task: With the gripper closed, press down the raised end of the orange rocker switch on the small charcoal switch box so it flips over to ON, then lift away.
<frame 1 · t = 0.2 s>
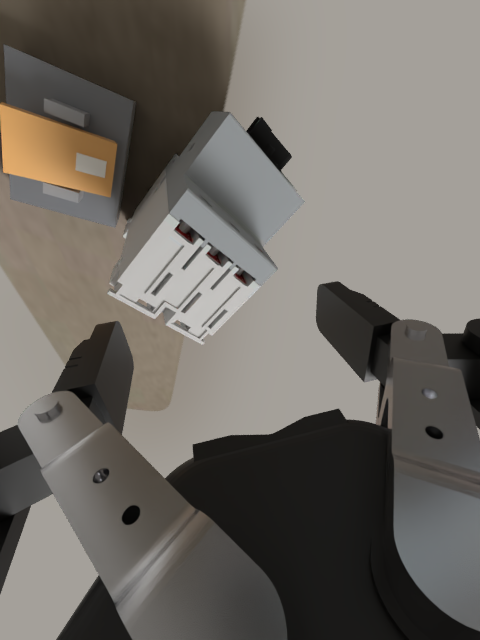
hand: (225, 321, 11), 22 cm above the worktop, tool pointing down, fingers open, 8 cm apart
circuit breaker: (199, 190, 29), on the worktop
switch box: (78, 148, 25), on the worktop
rocker: (62, 155, 21), point 5 cm above the worktop, hinge at -16.0°
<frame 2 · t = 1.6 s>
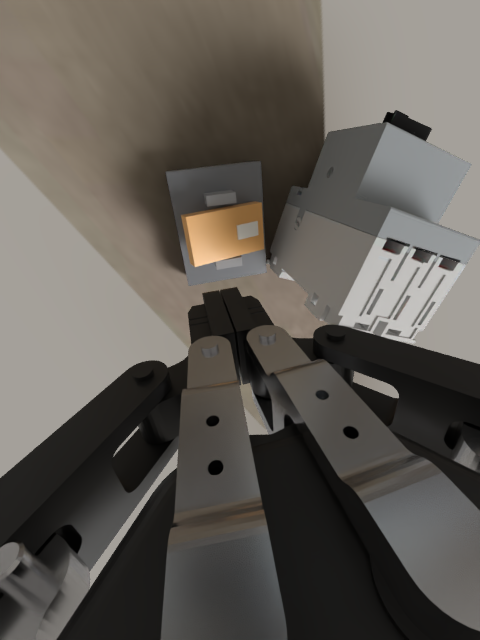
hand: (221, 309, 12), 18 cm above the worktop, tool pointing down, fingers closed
circuit breaker: (318, 206, 30), on the worktop
switch box: (217, 222, 28), on the worktop
rocker: (224, 232, 24), point 5 cm above the worktop, hinge at -16.0°
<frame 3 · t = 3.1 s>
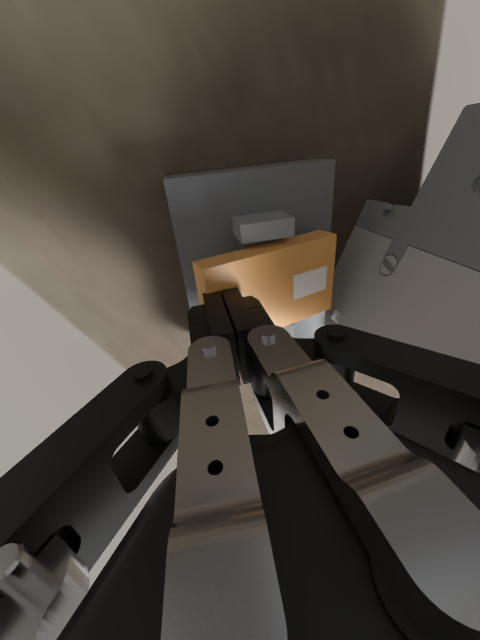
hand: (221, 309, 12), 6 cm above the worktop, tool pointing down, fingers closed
circuit breaker: (401, 230, 19), on the worktop
switch box: (246, 257, 18), on the worktop
rocker: (268, 287, 14), point 5 cm above the worktop, hinge at -15.9°, touching gripper
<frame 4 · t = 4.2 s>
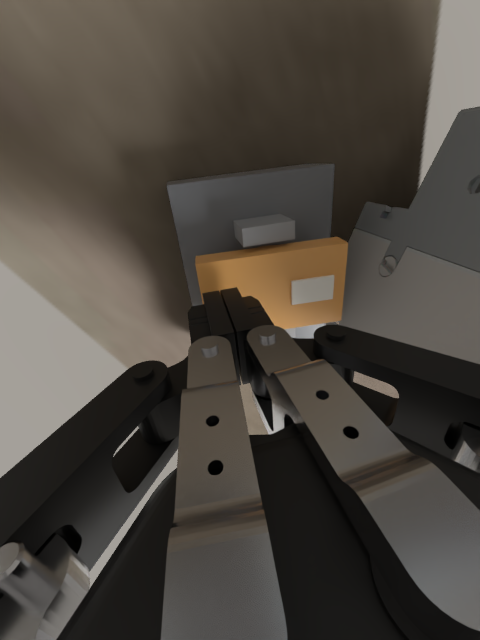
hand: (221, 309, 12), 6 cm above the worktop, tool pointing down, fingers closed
circuit breaker: (400, 231, 20), on the worktop
switch box: (248, 259, 18), on the worktop
rocker: (271, 288, 14), point 5 cm above the worktop, hinge at 4.9°
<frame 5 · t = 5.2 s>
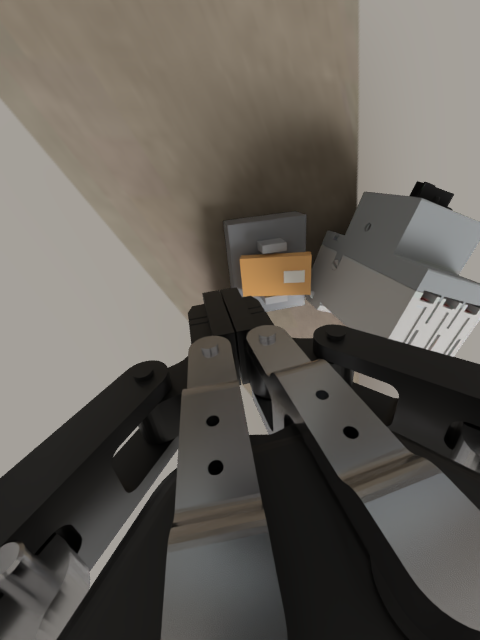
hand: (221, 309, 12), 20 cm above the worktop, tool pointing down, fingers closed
circuit breaker: (349, 246, 34), on the worktop
switch box: (262, 261, 33), on the worktop
rocker: (275, 274, 29), point 5 cm above the worktop, hinge at 19.6°
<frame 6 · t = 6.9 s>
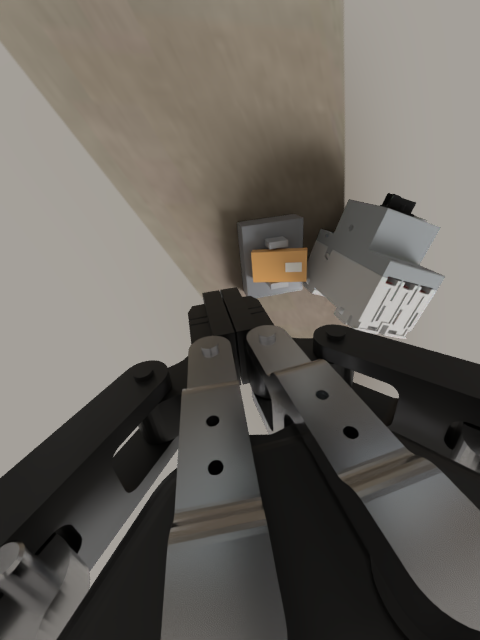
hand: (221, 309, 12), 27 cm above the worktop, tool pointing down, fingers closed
circuit breaker: (338, 241, 42), on the worktop
switch box: (267, 254, 40), on the worktop
rocker: (279, 265, 36), point 5 cm above the worktop, hinge at 22.7°
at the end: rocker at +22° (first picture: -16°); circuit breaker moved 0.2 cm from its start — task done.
